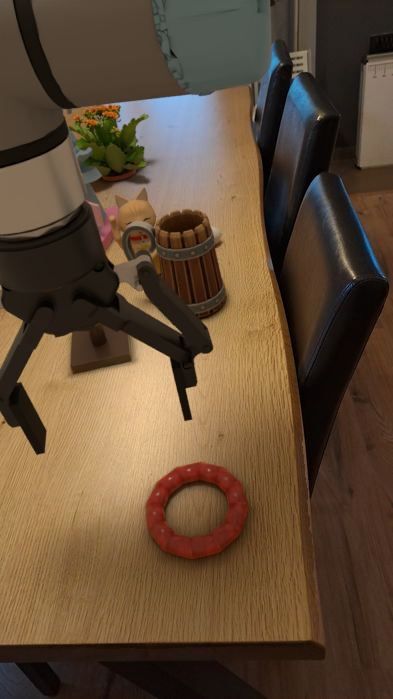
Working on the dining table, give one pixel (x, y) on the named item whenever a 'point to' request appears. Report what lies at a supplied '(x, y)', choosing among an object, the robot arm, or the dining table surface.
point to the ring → (202, 543)
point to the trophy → (90, 176)
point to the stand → (98, 348)
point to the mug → (184, 257)
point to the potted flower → (110, 142)
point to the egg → (216, 234)
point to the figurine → (131, 213)
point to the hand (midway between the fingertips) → (114, 426)
